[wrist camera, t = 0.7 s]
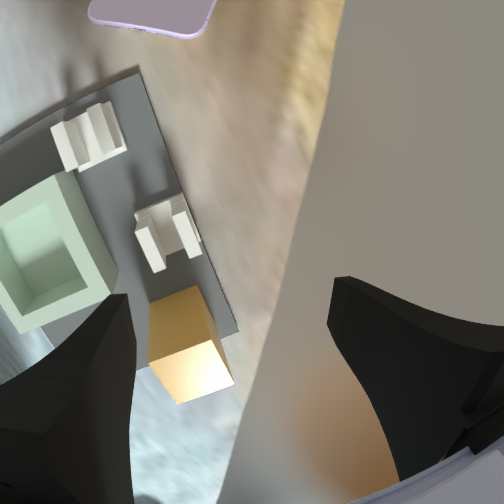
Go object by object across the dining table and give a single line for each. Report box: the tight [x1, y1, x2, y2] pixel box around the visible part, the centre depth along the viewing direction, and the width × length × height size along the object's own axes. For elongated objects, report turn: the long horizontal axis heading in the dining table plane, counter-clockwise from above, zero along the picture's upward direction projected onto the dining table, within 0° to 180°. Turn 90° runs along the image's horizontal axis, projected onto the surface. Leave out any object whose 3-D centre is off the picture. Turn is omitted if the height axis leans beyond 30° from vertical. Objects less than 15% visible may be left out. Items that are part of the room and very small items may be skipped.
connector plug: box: [148, 285, 234, 404], centre depth 18 cm, size 3×3×6 cm
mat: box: [0, 73, 239, 370], centre depth 18 cm, size 13×18×1 cm
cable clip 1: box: [50, 101, 128, 173], centre depth 14 cm, size 3×3×3 cm
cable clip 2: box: [134, 193, 202, 273], centre depth 17 cm, size 3×3×3 cm
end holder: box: [0, 170, 119, 335], centre depth 15 cm, size 7×7×3 cm
